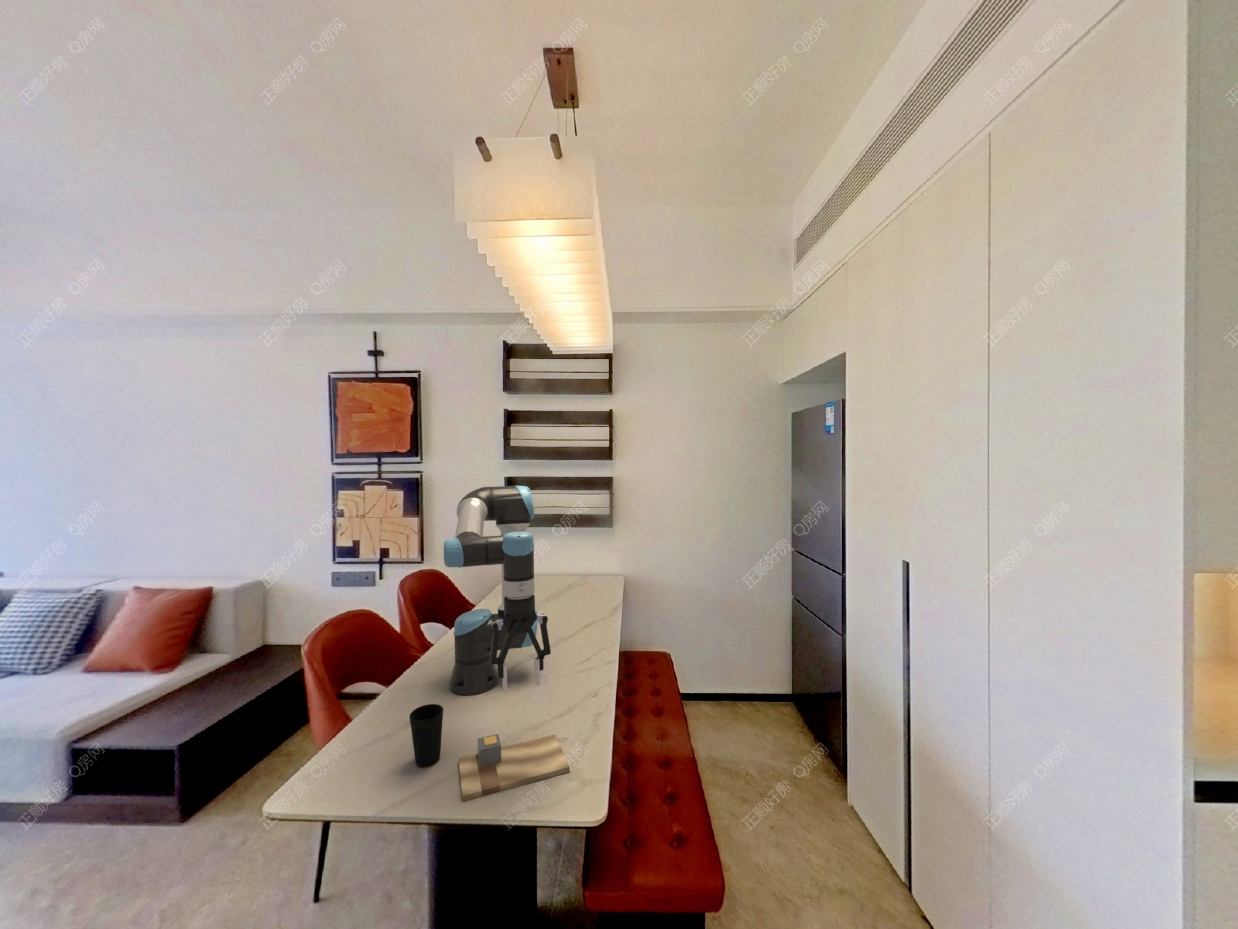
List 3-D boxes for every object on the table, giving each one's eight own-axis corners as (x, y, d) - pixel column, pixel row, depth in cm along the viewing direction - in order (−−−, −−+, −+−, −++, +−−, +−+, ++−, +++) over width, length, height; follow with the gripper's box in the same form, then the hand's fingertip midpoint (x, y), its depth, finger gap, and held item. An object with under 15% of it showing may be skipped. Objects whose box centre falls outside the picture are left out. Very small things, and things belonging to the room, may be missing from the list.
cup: (448, 750, 120) (447, 703, 120) (438, 770, 112) (437, 720, 112) (418, 751, 120) (416, 704, 120) (405, 771, 112) (404, 721, 112)
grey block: (477, 754, 116) (477, 737, 116) (498, 749, 118) (498, 732, 118) (479, 767, 111) (479, 749, 111) (501, 761, 113) (501, 744, 113)
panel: (458, 762, 115) (458, 757, 115) (555, 739, 124) (554, 734, 124) (462, 801, 102) (462, 795, 102) (569, 771, 111) (569, 766, 111)
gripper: (478, 605, 110) (480, 702, 110) (562, 594, 117) (564, 685, 118) (475, 596, 117) (477, 687, 117) (555, 586, 124) (557, 672, 125)
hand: (521, 686), depth 117 cm, fingers open, 7 cm apart
